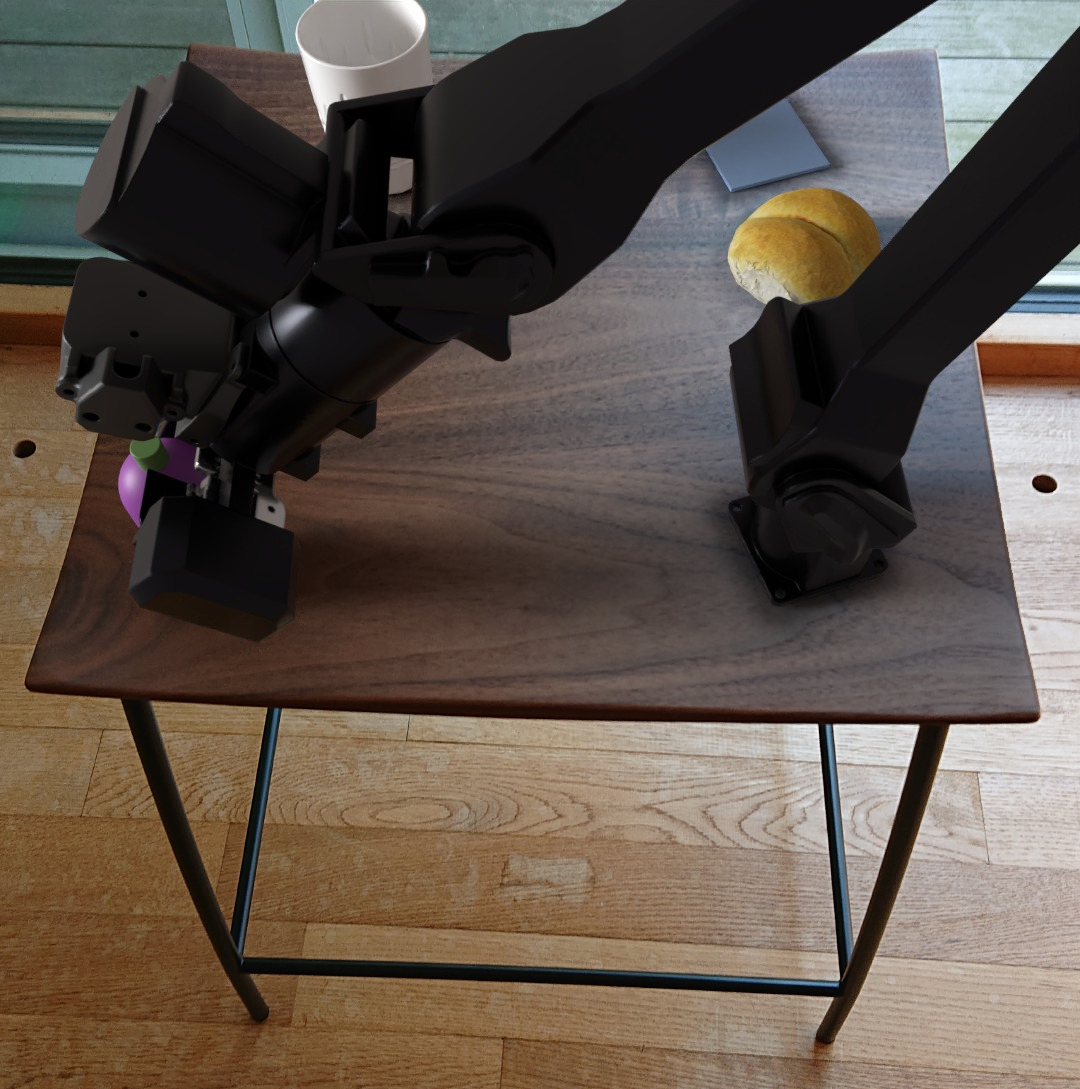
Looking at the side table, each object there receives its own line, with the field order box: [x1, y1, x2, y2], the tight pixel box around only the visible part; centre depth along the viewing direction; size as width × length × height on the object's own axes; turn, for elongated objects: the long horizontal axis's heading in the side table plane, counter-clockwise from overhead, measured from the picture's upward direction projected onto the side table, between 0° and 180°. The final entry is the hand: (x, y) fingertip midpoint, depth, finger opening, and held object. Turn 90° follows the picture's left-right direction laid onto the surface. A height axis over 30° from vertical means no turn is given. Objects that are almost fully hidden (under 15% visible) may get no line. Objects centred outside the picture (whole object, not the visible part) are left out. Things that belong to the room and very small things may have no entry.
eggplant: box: [117, 436, 207, 529], centre depth 53 cm, size 4×4×11 cm
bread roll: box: [727, 187, 882, 306], centre depth 65 cm, size 8×9×4 cm
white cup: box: [295, 0, 434, 195], centre depth 69 cm, size 8×8×10 cm
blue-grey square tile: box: [705, 97, 831, 193], centre depth 72 cm, size 7×7×1 cm
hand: (149, 502), depth 52 cm, fingers closed on eggplant, 4 cm apart
